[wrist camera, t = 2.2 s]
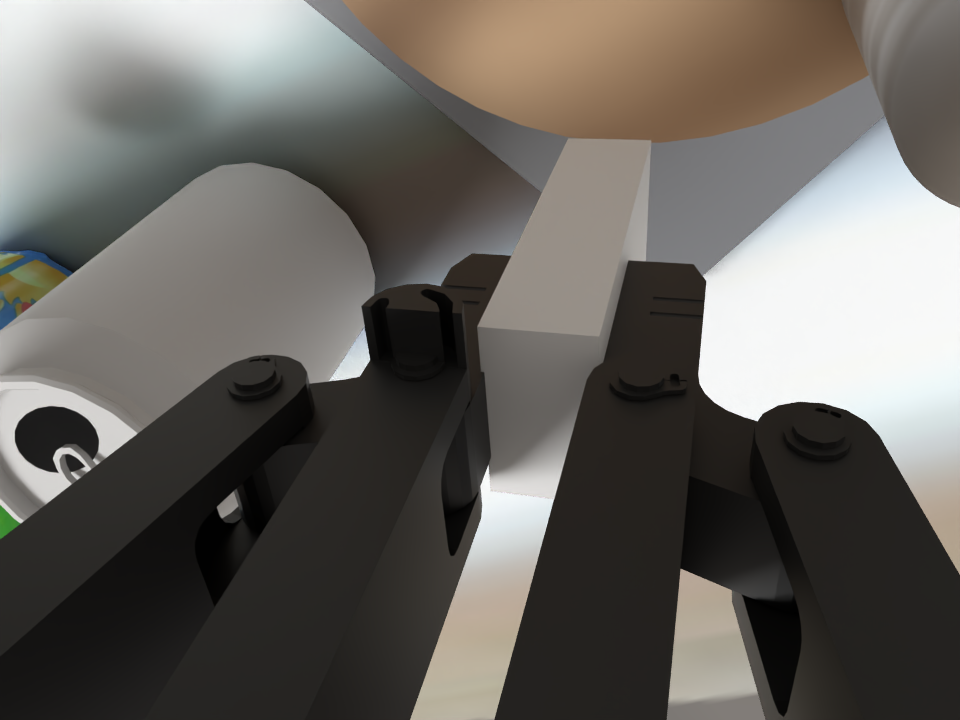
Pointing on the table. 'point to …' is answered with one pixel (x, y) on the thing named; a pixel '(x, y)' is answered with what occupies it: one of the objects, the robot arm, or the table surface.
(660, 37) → the dial
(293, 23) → the table surface
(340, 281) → the can
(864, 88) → the dial base
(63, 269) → the snack cup
